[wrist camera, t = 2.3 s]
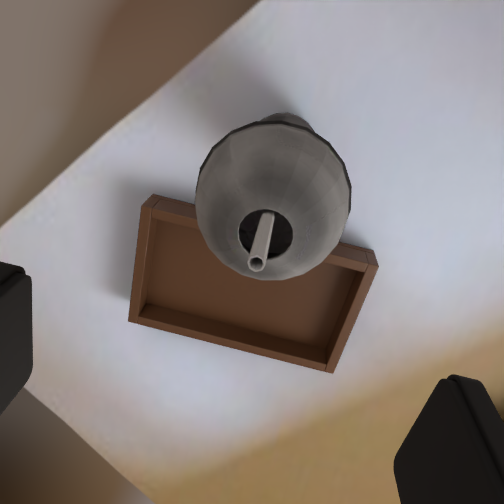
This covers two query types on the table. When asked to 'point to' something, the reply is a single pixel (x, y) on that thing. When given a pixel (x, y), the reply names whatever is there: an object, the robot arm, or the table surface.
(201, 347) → the table surface
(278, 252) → the beverage cup
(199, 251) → the tray
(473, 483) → the robot arm
